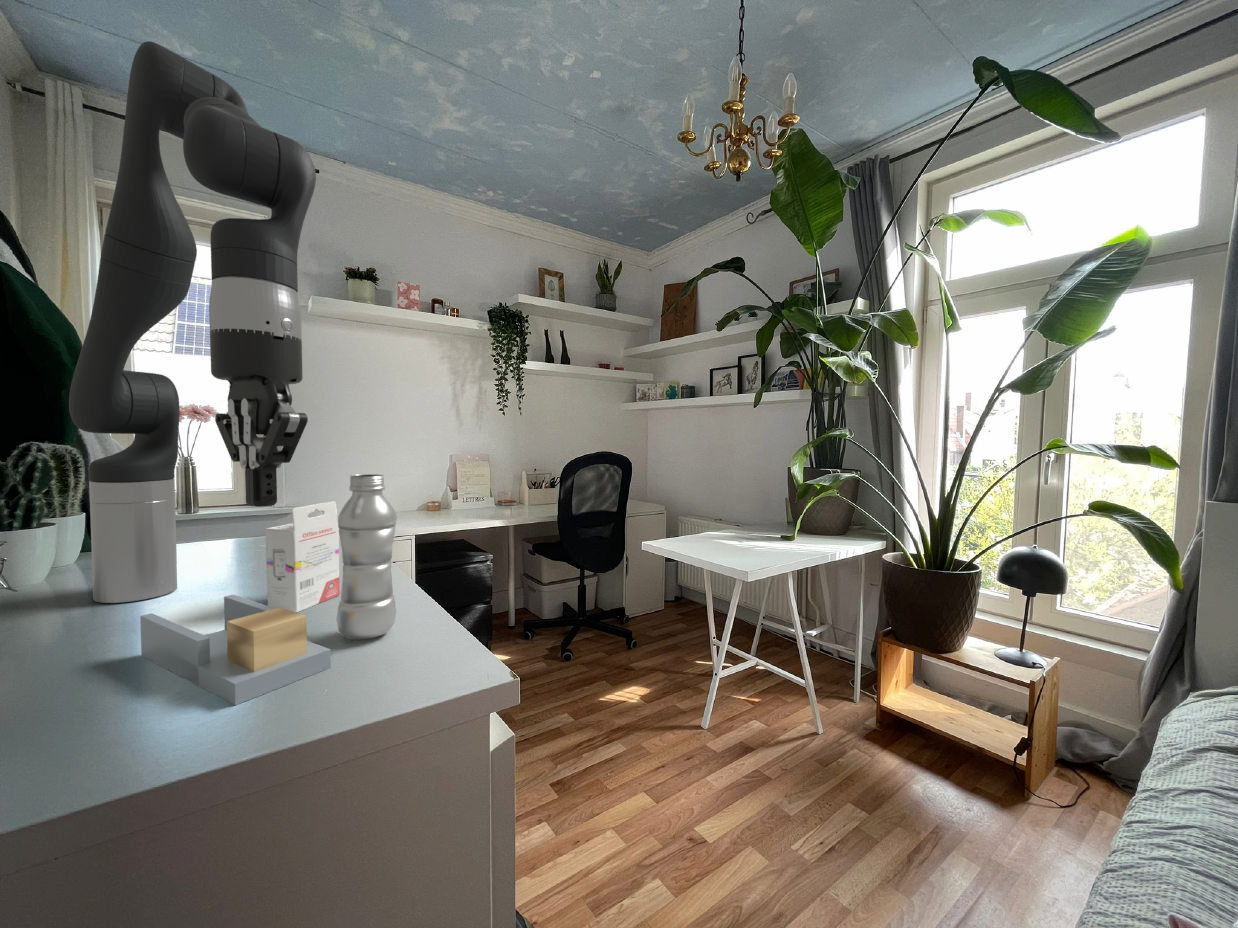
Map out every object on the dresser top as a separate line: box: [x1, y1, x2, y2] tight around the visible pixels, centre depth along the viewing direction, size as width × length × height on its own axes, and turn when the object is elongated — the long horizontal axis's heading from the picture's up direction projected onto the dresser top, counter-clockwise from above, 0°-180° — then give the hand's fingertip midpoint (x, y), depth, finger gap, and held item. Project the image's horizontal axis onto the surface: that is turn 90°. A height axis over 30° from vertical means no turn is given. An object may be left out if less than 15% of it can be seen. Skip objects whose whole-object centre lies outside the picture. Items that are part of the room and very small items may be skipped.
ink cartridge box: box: [264, 500, 341, 613], centre depth 75 cm, size 9×5×15 cm, turn 168°
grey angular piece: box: [139, 594, 331, 706], centre depth 56 cm, size 20×9×4 cm, turn 61°
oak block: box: [227, 607, 308, 672], centre depth 53 cm, size 5×5×4 cm
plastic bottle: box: [336, 473, 398, 640], centre depth 63 cm, size 6×7×20 cm
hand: (261, 505), depth 52 cm, fingers closed
